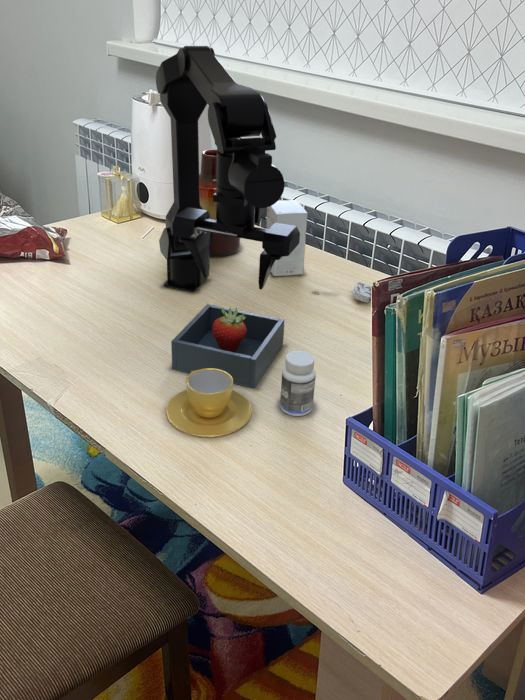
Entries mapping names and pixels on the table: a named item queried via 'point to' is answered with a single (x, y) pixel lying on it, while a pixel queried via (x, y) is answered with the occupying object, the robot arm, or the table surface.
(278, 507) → the table surface
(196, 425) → the cup
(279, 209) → the small box
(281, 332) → the box
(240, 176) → the robot arm
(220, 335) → the fruit
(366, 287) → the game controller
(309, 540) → the table surface
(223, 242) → the vase
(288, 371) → the pill bottle
